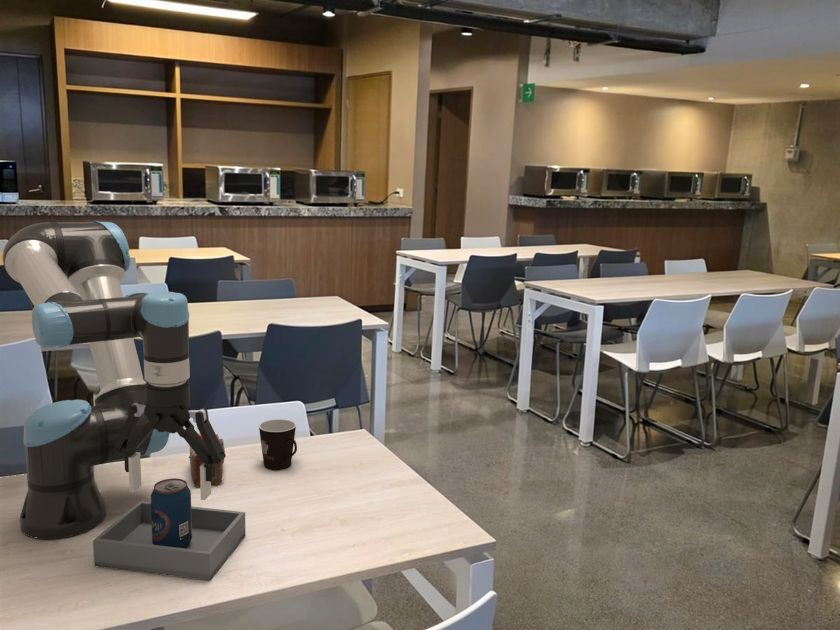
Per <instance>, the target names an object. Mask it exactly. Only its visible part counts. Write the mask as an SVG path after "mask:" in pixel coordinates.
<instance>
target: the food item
mask: <svg viewBox="0 0 840 630" xmlns="http://www.w3.org/2000/svg"><path fill="white" fill-rule="evenodd" d="M198 434H199V436H200V437H201V438H202V436H201V434H200V432H198ZM216 436H217V438H218V440H219V442H220V444H221V446H222V448H223V450H224V452H225V453H226V450H225V445H224V444H225V443H224V439H223V438H220V437H219V434H218V433H217V434H216ZM202 439H203V438H202ZM203 441H204V440H203ZM188 458H189V466H190V474H191V475H190V476H191V480H192V483H193V485H194V487H195V488H200V466H201V465H202V464H203V462H202V460H201V459H200V458H199V457H198V455H197V454H196V453H195V452H194V450H193V449H192V448H191V447H190V446H189V456H188ZM224 463H225V458H224V459H223V460H222V461H221V462H220V463H218V464H217V463H215V478H214V479H213V480H212V481H211V487H214V486H215V487H218V486H217V485H219V486H220V485H221V484H222V482H223V477H224V468H223V467H224Z"/></svg>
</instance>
